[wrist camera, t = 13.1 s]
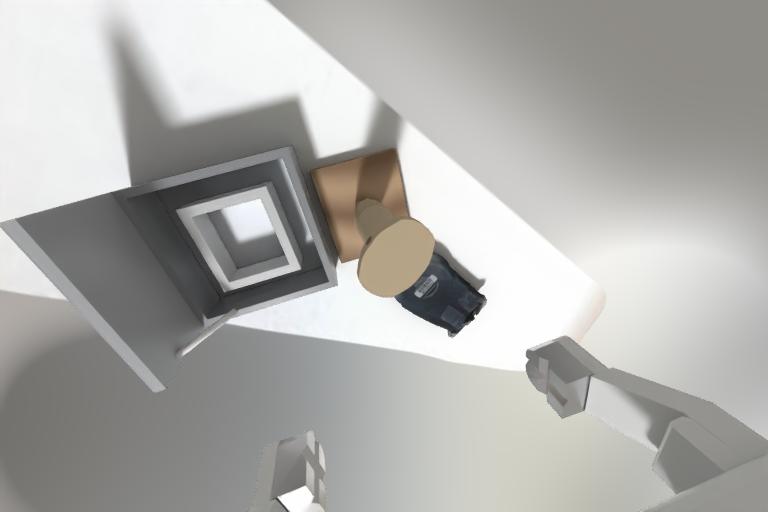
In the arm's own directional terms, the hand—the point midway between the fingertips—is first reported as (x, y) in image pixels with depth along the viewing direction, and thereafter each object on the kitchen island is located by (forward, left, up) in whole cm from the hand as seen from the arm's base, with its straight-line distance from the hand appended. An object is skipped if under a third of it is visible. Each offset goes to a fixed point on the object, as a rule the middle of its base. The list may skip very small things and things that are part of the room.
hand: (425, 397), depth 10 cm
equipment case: (-1, -12, -27) cm, 30 cm away
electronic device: (+15, +9, -28) cm, 33 cm away
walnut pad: (0, +2, -27) cm, 27 cm away
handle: (0, +2, -26) cm, 26 cm away
